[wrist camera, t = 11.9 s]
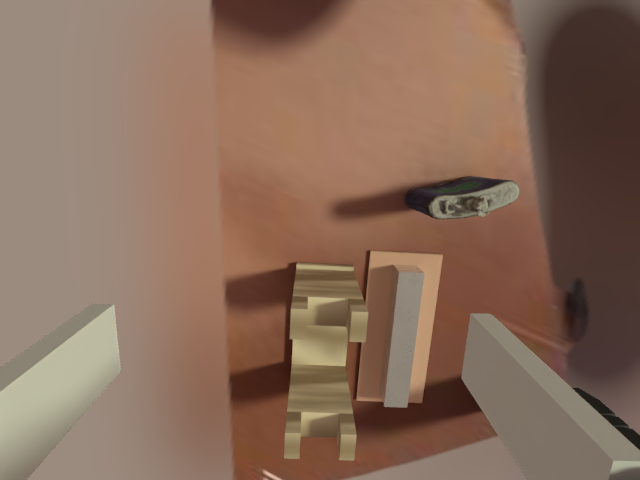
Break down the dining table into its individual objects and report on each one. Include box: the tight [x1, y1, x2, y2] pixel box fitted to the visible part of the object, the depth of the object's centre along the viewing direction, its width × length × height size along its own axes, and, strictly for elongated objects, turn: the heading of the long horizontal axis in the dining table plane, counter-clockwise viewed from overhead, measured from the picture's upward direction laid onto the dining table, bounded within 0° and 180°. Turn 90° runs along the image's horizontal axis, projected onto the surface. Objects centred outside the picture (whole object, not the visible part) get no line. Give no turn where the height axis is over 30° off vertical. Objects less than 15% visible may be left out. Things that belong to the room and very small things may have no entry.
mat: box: [356, 250, 443, 403], centre depth 47 cm, size 21×9×1 cm, turn 177°
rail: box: [380, 264, 425, 408], centre depth 46 cm, size 18×3×3 cm, turn 177°
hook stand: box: [284, 262, 368, 460], centre depth 41 cm, size 17×7×13 cm, turn 177°
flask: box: [404, 176, 520, 219], centre depth 39 cm, size 9×3×11 cm, turn 102°
